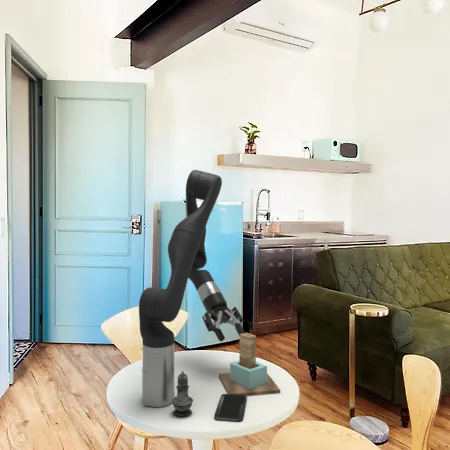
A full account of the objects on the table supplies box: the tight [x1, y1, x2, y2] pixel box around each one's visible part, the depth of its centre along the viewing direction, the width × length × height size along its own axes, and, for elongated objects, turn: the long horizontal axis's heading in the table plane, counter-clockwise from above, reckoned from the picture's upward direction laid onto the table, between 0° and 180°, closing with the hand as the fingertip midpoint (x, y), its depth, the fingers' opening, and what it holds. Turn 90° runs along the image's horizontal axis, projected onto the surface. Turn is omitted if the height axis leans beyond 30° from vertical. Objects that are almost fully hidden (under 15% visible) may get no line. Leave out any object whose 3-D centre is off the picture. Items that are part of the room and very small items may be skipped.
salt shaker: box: [171, 370, 194, 419], centre depth 125 cm, size 6×6×12 cm
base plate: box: [218, 372, 281, 397], centre depth 145 cm, size 16×16×1 cm
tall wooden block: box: [238, 332, 257, 369], centre depth 144 cm, size 3×4×14 cm, turn 39°
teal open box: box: [229, 360, 268, 389], centre depth 144 cm, size 8×9×6 cm
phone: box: [213, 393, 248, 423], centre depth 128 cm, size 8×1×15 cm
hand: (232, 337), depth 150 cm, fingers open, 8 cm apart
